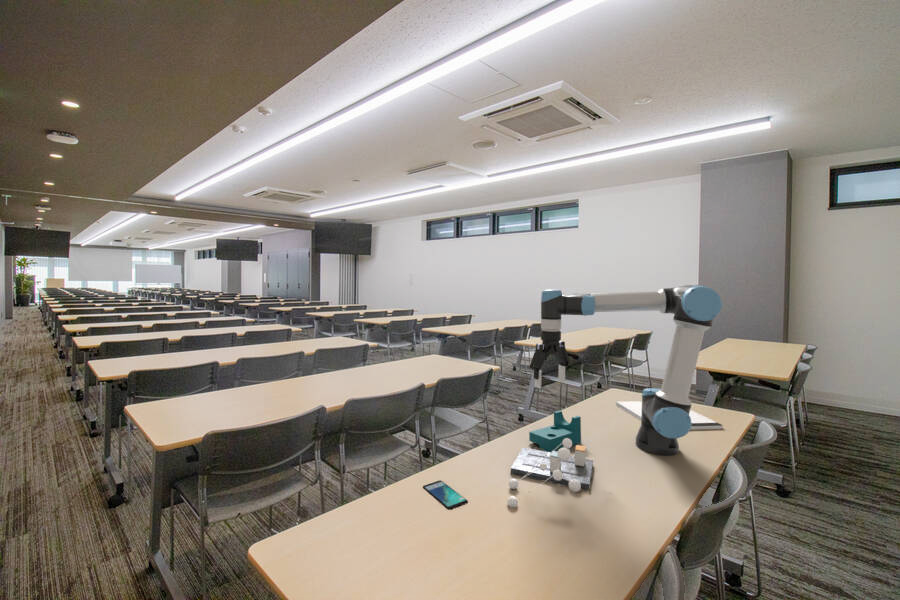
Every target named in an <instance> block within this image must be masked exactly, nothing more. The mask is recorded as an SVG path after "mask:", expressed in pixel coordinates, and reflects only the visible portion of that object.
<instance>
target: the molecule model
mask: <svg viewBox="0 0 900 600" xmlns="http://www.w3.org/2000/svg"><path fill="white" fill-rule="evenodd" d="M561 444H563V446H564V448H560V449H559V450H558V451H557V452H558V457H559V458H557V459H560V462H561V460H562V461H566V463H567V460H569V459H570V457H571V456H572V455H571V454H572V453H571V451H570V448H571V447H572V446H573V445H572V441H571V440H570V439H569V438H565V439H564V440H563V442H562V443H561ZM561 444H560V445H561ZM560 445H559V446H560ZM559 446H558V447H559ZM558 447H557V448H558ZM554 450H555V449H554ZM554 450H553V451H554ZM553 451H552V452H553ZM552 452H551V453H552ZM551 453H550V454H551ZM550 454H549V455H550ZM545 458H546V457H545ZM545 458H544V459H545ZM544 459H543V460H544ZM557 459H556V460H557ZM543 460H542V461H543ZM542 461H541V462H542ZM554 461H555V460H554ZM541 462H540V463H541ZM552 462H553V461H552ZM550 463H551V462H550ZM550 463H548V464H550ZM571 463H572V460H571ZM548 464H547V465H548ZM537 465H538V464H537ZM537 465H536V466H537ZM547 465H546V464H545V463H541V464H540V466H539V467H540V468H539V469H541V470H542V471H545V470H546V469H547ZM567 465H568V464H567ZM536 466H535V467H536ZM559 466H560V464H559ZM535 467H534V468H535ZM534 468H533V469H534ZM568 468H569V467H568ZM533 469H532V470H533ZM539 469H537V470H539ZM558 469H559V467H558ZM572 469H573V466H572ZM537 470H536V471H537ZM569 471H570V470H569ZM534 472H535V471H534ZM528 473H529V472H528ZM528 473H527V474H528ZM532 473H533V472H532ZM527 474H526V475H527ZM530 474H531V473H530ZM530 474H528V475H530ZM570 474H571V472H570ZM573 474H574V471H573ZM526 475H525V476H524V477H523V476H522V477H521V478H519V479H517V478H516V479H515V478H511V479H509V480H508V485H509V487H510V489H511V490H516V489H518V487H519V482H520V481H522V480H523V479H524V478H527V477H526ZM528 475H527V476H528ZM551 477H552V476H551ZM551 477H550V478H551ZM571 477H572V475H571ZM553 478H554V479H555V480H557V481H559V480H561V479H564V478H563V473H562V472H561V471H560V470H554V471H553ZM548 479H549V478H548ZM548 479H547V480H548ZM565 480H566V479H565ZM568 481H569V480H568ZM545 482H547V481H546V480H545V481H542V482H541V483H540V484H538V485H537V486H536V487H534V488H533V489H531V490H529V491H528V492H527V493H524V495H523V496H521V497H520V498H517V497H516V496H514V495H512V496H509V497H508V498H507V505H508V506H509V507H510V508H517V506H518V505H519V504H518V503H519V500H520V499H522V498H523V497H525V496H526V495H528V494H530V493H531V492H532V491H533V490H535V489H536V488H538V487H539V486H540V485H543V484H544V483H545ZM567 487H568V488H569V490H570V491H571V492H573V493H578V492H579V491H580V490H582V489H581V484H580V482H579V481H578V480H576V479H575V477H574V479H573V478H572V480H570V481H569V484H568V486H567Z"/></svg>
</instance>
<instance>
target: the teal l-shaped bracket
mask: <svg viewBox="0 0 900 600" xmlns="http://www.w3.org/2000/svg"><path fill="white" fill-rule="evenodd" d="M581 419H582V418H581V416H580V415H575V416H572V417H571V421H570V422H568V421H567V420H566V419H565V416H564V414H563V410H557V411H553V425H550V426H549V425H548V426H546V427H542V428H541V427H540V428H538V429H535V430H532V431H529V432H528V433H529V434H528V435H529V442H531V443H533V444H534V443H535V444H536V445H538V446H539V449H540V450H541V451H546V452H552V451H553V450H554V449H555V450H554V451H557V452H558V450H559V449H560V448H564V446H563V444H561V443H562V442H563V440H564V439H565V438H569V439H570V440H571V441H572V446H574V445H575V446H576V445H578V444H581V443H582V429H581V428H582V421H581ZM560 444H561V445H560ZM559 445H560V446H559ZM558 446H559V447H558ZM557 447H558V448H557Z"/></svg>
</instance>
